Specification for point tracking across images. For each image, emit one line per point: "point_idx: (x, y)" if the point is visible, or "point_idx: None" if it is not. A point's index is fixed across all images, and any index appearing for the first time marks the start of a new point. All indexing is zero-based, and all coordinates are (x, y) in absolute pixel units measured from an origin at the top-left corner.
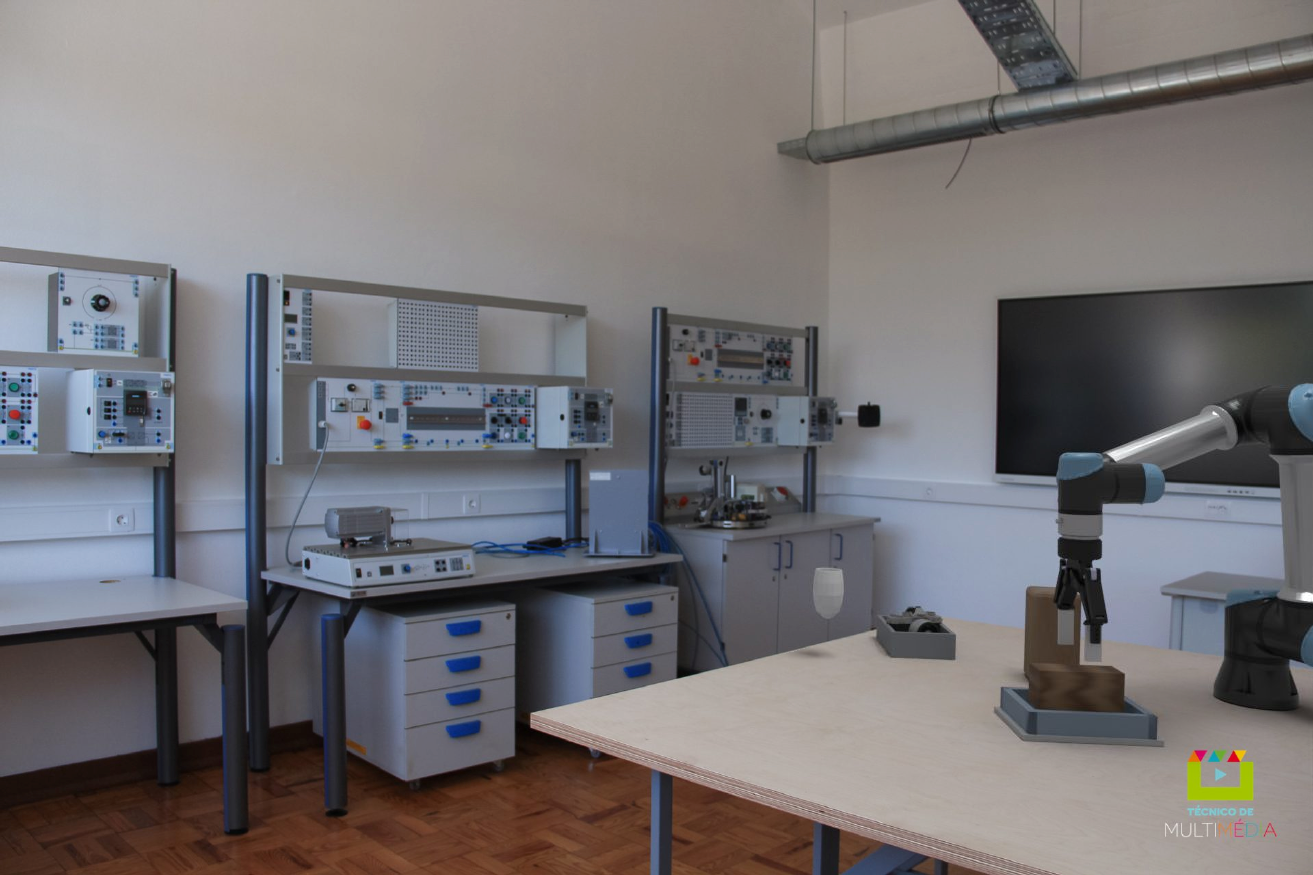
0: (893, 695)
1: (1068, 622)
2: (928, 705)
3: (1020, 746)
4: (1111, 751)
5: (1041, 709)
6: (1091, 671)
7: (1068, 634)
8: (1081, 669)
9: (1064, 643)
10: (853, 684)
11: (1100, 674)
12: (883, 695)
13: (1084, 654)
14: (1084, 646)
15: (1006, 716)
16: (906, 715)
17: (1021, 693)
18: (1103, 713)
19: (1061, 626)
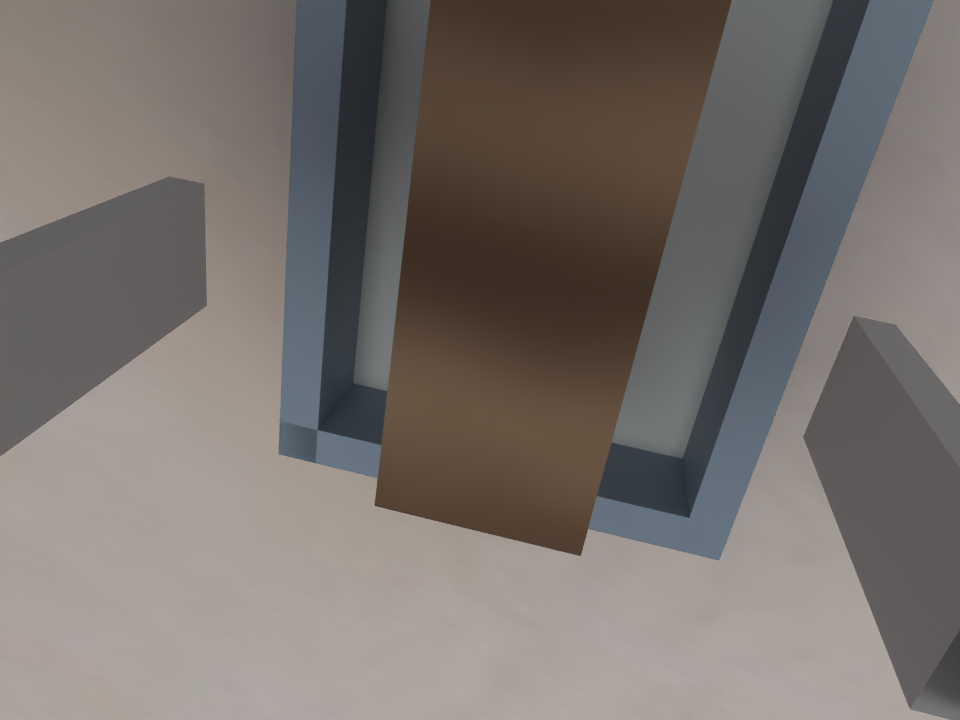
0: (149, 641)
1: (67, 303)
2: (258, 595)
3: (779, 549)
4: (939, 217)
5: None
6: (632, 224)
7: (151, 258)
8: (563, 266)
9: (198, 264)
10: (40, 691)
11: (684, 171)
12: (155, 668)
13: (818, 468)
14: (836, 514)
15: None
16: (387, 706)
17: (327, 373)
18: (827, 207)
19: (109, 357)
